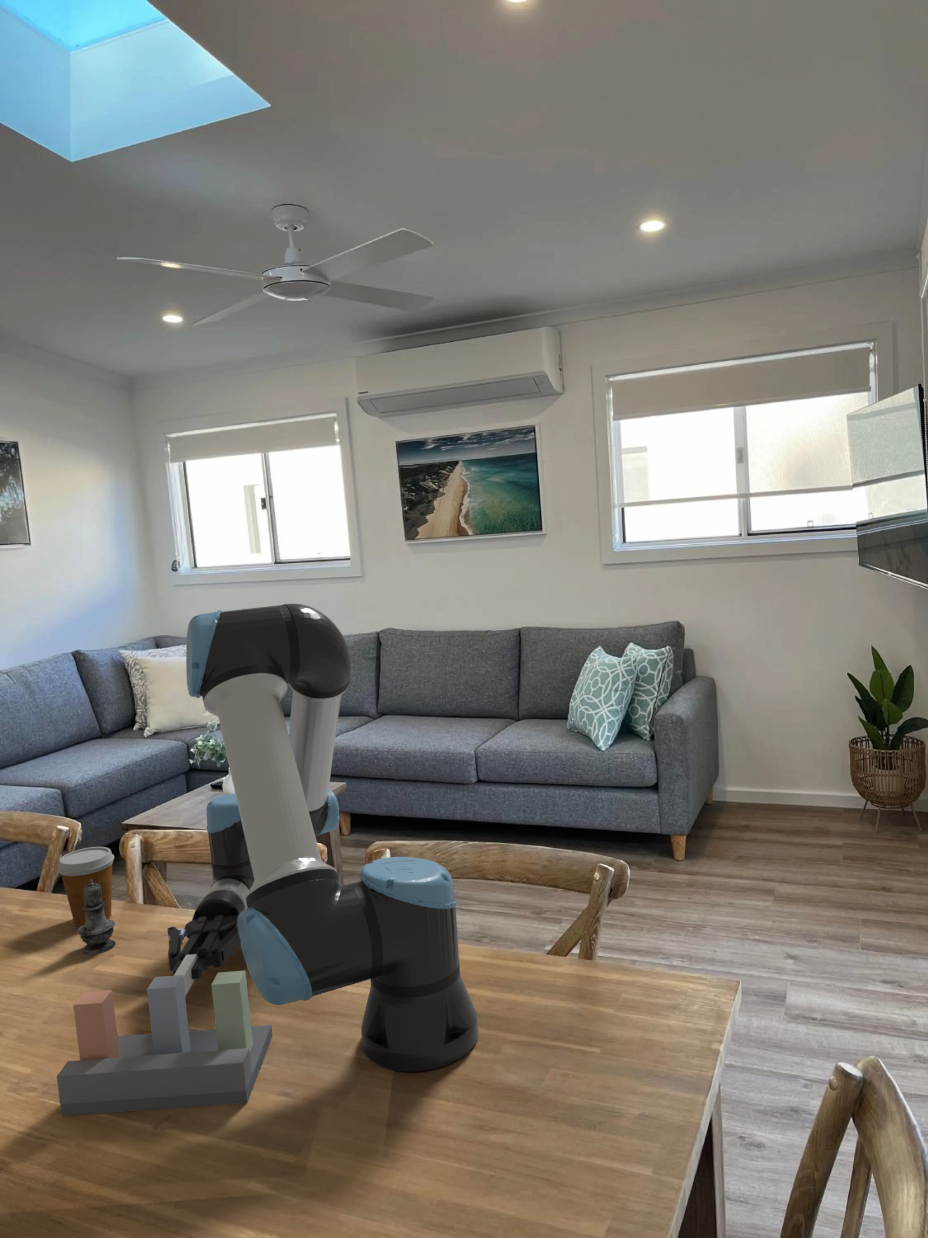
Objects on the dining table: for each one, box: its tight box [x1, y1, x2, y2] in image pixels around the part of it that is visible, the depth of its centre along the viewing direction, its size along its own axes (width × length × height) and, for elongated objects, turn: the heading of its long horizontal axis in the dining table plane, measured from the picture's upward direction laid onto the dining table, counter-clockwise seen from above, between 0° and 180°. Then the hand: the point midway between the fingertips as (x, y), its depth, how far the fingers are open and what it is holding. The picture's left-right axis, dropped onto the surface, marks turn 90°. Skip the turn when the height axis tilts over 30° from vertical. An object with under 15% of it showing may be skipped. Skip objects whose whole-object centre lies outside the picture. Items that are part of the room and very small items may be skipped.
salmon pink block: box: [73, 989, 120, 1060], centre depth 109 cm, size 4×3×10 cm
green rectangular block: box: [211, 970, 253, 1052], centre depth 111 cm, size 4×3×10 cm
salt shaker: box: [77, 879, 116, 956], centre depth 149 cm, size 6×6×12 cm
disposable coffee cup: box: [56, 846, 115, 927], centre depth 161 cm, size 10×10×12 cm
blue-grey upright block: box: [146, 975, 191, 1055], centre depth 111 cm, size 4×3×10 cm
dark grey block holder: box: [56, 1024, 274, 1117], centre depth 111 cm, size 22×14×5 cm, turn 90°
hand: (178, 987), depth 117 cm, fingers closed
